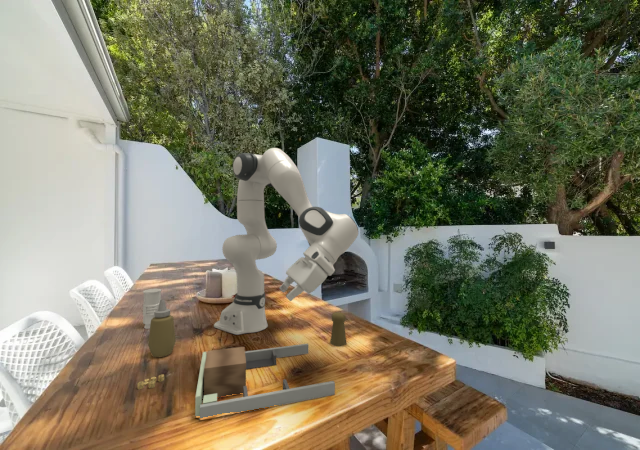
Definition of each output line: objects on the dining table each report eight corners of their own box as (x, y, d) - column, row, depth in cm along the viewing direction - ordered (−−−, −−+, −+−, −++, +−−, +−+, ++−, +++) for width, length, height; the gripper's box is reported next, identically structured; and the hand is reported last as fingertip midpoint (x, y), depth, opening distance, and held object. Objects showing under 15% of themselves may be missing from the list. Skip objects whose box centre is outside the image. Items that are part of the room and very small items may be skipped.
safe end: (218, 366, 86) (218, 350, 86) (216, 415, 64) (217, 393, 64) (202, 368, 85) (202, 352, 85) (195, 419, 63) (195, 396, 63)
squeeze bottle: (181, 350, 97) (181, 297, 97) (160, 361, 89) (161, 304, 89) (163, 346, 99) (163, 295, 99) (141, 357, 92) (142, 301, 92)
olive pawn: (345, 347, 101) (346, 316, 101) (328, 345, 102) (329, 314, 102) (347, 340, 107) (347, 311, 107) (331, 338, 108) (331, 309, 108)
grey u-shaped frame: (307, 352, 96) (307, 343, 96) (334, 394, 73) (334, 382, 73) (206, 366, 86) (206, 356, 86) (199, 421, 62) (199, 407, 62)
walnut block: (244, 374, 82) (244, 346, 82) (245, 394, 73) (246, 363, 73) (207, 379, 79) (207, 350, 79) (203, 400, 70) (204, 368, 70)
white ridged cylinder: (138, 327, 117) (138, 291, 117) (153, 322, 123) (154, 288, 123) (150, 330, 114) (150, 293, 114) (165, 324, 121) (165, 289, 121)
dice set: (165, 381, 79) (165, 374, 79) (154, 391, 74) (154, 384, 74) (147, 380, 79) (147, 374, 79) (135, 391, 74) (135, 384, 74)
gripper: (301, 248, 93) (271, 279, 90) (321, 256, 74) (283, 296, 71) (314, 261, 95) (284, 292, 92) (337, 272, 75) (300, 312, 72)
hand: (284, 294), depth 81 cm, fingers open, 8 cm apart
